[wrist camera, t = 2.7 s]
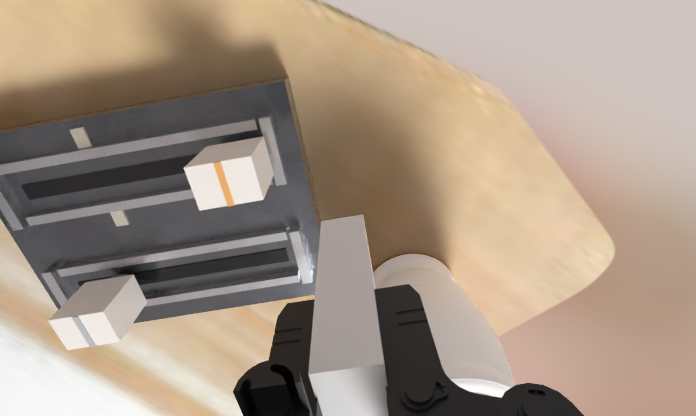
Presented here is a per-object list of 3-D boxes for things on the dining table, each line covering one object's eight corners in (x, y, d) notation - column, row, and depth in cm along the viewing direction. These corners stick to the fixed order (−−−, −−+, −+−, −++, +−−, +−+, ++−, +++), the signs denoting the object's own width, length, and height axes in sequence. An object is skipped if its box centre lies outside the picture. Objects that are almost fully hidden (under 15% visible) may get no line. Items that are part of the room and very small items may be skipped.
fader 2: (223, 177, 28) (198, 211, 23) (211, 141, 27) (182, 168, 22) (276, 168, 28) (263, 200, 23) (266, 132, 27) (250, 156, 22)
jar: (487, 277, 37) (576, 424, 23) (418, 344, 40) (461, 507, 26) (400, 222, 34) (444, 353, 20) (334, 300, 37) (334, 456, 24)
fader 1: (108, 300, 33) (66, 351, 28) (93, 273, 32) (46, 321, 26) (153, 292, 33) (119, 342, 27) (140, 265, 31) (102, 312, 26)
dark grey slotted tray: (89, 313, 37) (66, 340, 34) (-19, 132, 29) (-62, 145, 26) (333, 275, 36) (333, 299, 33) (288, 76, 28) (282, 82, 25)
